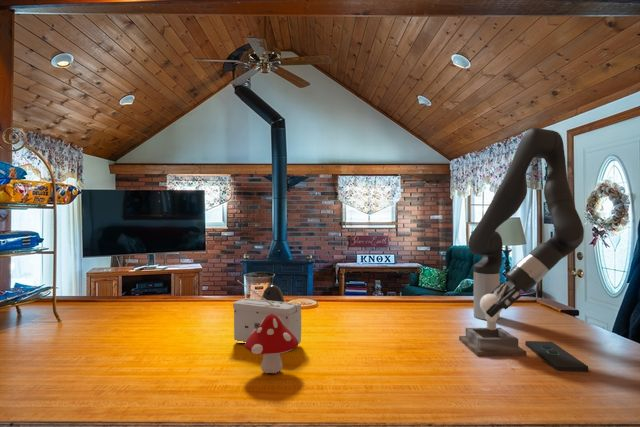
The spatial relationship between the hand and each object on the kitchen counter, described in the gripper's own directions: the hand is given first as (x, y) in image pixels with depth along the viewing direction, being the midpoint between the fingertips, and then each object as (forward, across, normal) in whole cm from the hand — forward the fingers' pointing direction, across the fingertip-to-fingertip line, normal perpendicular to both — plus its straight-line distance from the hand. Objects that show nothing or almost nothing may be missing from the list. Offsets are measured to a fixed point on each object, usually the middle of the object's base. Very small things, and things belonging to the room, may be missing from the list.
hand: (485, 311), depth 118 cm
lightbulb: (+3, 0, +5) cm, 6 cm away
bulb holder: (+7, 0, +8) cm, 11 cm away
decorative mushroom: (+49, +28, -34) cm, 66 cm away
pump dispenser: (+56, -9, -42) cm, 71 cm away
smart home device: (-4, +5, +20) cm, 21 cm away
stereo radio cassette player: (+54, +8, -40) cm, 68 cm away
